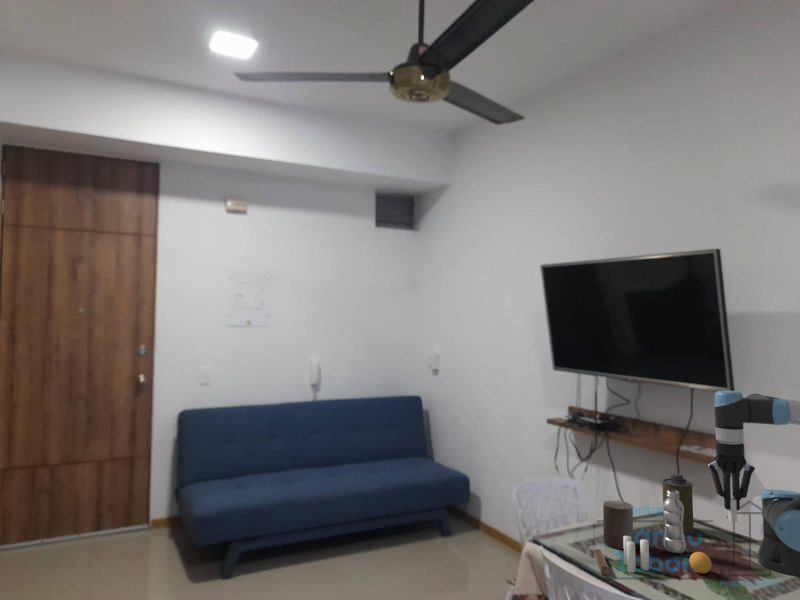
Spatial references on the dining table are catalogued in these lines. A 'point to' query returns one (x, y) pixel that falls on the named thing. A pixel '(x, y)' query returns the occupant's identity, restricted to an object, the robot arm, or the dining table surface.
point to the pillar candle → (617, 522)
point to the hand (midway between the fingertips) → (732, 520)
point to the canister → (681, 498)
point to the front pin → (644, 554)
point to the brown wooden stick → (601, 561)
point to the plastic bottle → (673, 523)
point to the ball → (700, 562)
